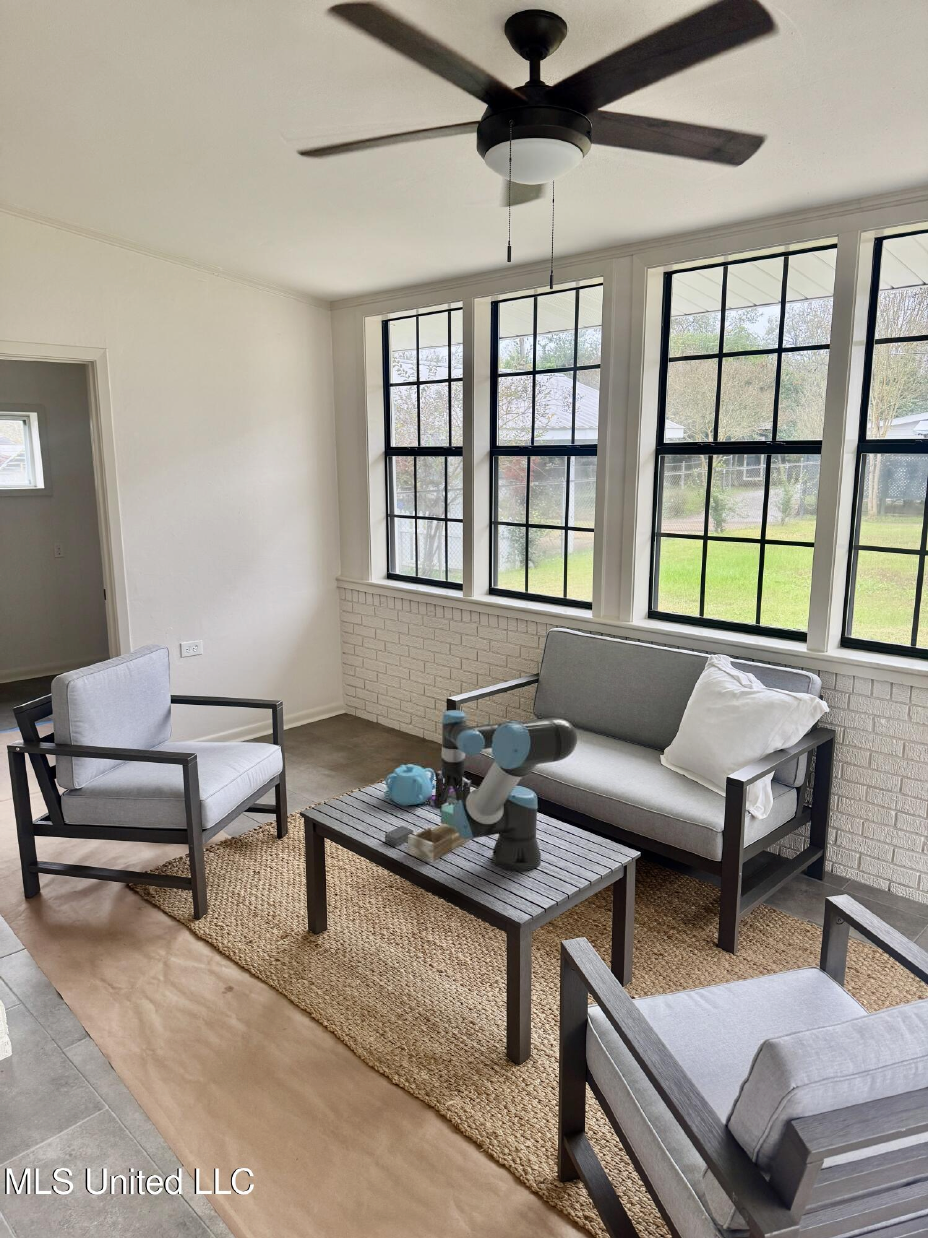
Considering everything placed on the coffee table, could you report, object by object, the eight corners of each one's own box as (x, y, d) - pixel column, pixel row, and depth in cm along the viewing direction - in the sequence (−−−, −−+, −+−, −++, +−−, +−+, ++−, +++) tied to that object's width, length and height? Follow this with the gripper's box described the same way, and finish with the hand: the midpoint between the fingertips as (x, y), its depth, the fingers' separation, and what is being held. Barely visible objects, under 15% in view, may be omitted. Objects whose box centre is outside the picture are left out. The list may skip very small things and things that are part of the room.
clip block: (464, 821, 265) (464, 808, 264) (453, 827, 261) (453, 814, 260) (451, 817, 268) (451, 804, 267) (440, 822, 264) (440, 809, 263)
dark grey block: (412, 838, 266) (413, 830, 265) (396, 847, 260) (396, 838, 259) (401, 834, 269) (401, 825, 268) (385, 842, 263) (385, 833, 262)
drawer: (471, 840, 266) (471, 823, 264) (430, 862, 250) (431, 844, 249) (448, 831, 271) (448, 815, 270) (407, 853, 256) (408, 835, 255)
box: (427, 806, 294) (467, 821, 281) (427, 797, 294) (467, 811, 281) (453, 794, 304) (493, 808, 292) (453, 785, 304) (493, 799, 291)
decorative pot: (401, 789, 307) (401, 754, 305) (439, 796, 301) (439, 761, 298) (379, 804, 293) (379, 768, 290) (418, 812, 286) (418, 776, 284)
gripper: (483, 762, 258) (481, 830, 262) (438, 748, 269) (437, 814, 273) (468, 768, 252) (467, 838, 256) (424, 754, 263) (423, 821, 267)
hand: (452, 825), depth 265 cm, fingers closed on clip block, 5 cm apart
